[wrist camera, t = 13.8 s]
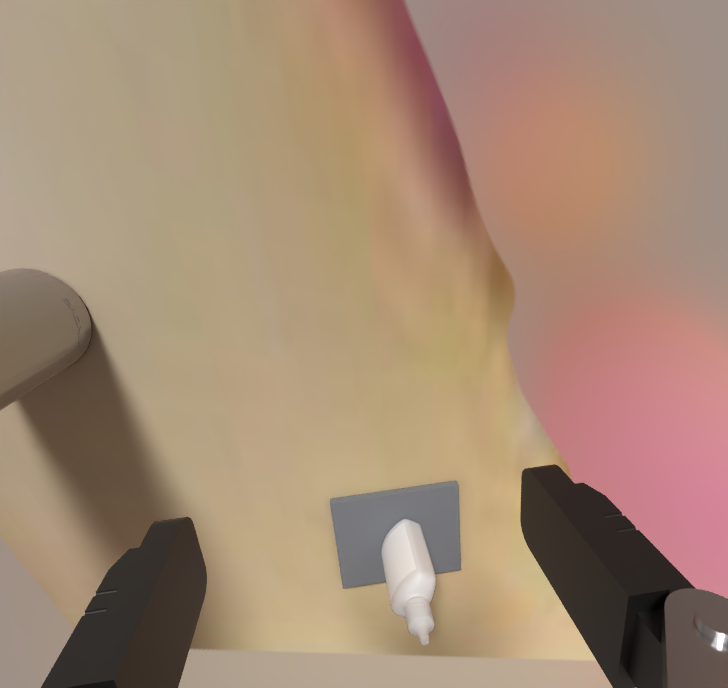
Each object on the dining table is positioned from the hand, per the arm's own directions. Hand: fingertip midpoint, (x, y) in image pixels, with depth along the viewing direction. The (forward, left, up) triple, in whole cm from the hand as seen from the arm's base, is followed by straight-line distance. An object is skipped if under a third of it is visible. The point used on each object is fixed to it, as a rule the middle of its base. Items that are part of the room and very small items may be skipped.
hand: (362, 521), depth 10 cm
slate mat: (+4, -29, -30) cm, 42 cm away
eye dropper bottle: (+4, -29, -30) cm, 42 cm away
